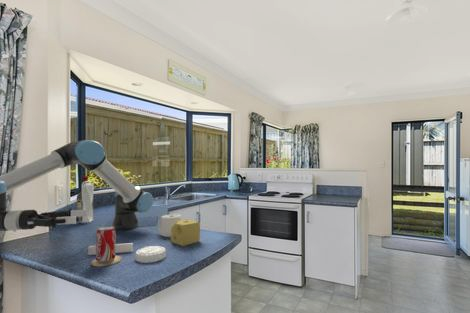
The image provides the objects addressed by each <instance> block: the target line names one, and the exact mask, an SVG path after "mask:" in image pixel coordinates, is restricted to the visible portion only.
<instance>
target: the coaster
mask: <svg viewBox="0 0 470 313" xmlns="http://www.w3.org/2000/svg"><path fill="white" fill-rule="evenodd" d="M121 261H122V256H120V255H115V258H114V260H113V261H111V262H107V263H99V262H97V261H96V258H95V259H93V260H92V261H91V266H93V267H100V268H101V267H108V266H112V265H116V264H119V263H120V262H121Z"/></svg>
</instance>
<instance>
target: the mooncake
mask: <svg viewBox="0 0 470 313" xmlns="http://www.w3.org/2000/svg"><path fill="white" fill-rule="evenodd" d="M166 256H167V249H166V248H165V247H163V246H161V245H160V246H159V245H148V246H143V247H142V248H139V249H138V250H136V252H135V261H136V262H138V263H143V264H144V263H145V264H147V263H157V262H158V261H161V260H164V259H165V258H166Z"/></svg>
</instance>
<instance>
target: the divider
mask: <svg viewBox="0 0 470 313" xmlns="http://www.w3.org/2000/svg"><path fill="white" fill-rule="evenodd" d="M133 252H134V243H133V242H129V243H128V242H127V243H115V254H118V253H121V254H122V253H133ZM92 255H95V256H96V245H89V246H88V256H92Z"/></svg>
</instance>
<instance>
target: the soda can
mask: <svg viewBox="0 0 470 313" xmlns="http://www.w3.org/2000/svg"><path fill="white" fill-rule="evenodd" d="M116 238H117V237H116V230H115V229H114V227H113V226H112V225H109V226H108V225H106V226H99V227H98V228H97V230H96V232H95V246H96V254H95V259H96V261H97V262H99V263H107V262H111V261H113V260H114V258H115V256H116V253H115V244H116Z"/></svg>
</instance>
